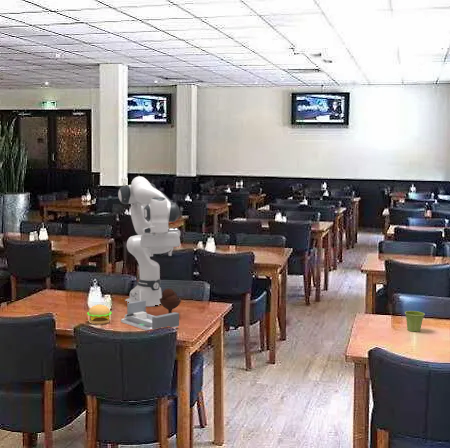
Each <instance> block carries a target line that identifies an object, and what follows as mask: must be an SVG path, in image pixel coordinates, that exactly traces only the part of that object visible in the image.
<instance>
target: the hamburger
mask: <svg viewBox="0 0 450 448" xmlns="http://www.w3.org/2000/svg"><path fill="white" fill-rule="evenodd" d="M86 315H88V316H89V319H88V322H89V323H90V324H92V325H105V324H108V323H109V322H110V319H111V318H110V316H111V315H112V311H111V309H110V308H109V307H108V306H107V305H105V304H96V305H93V306H92V307H90V308H89V310H88V311H87V313H86Z"/></svg>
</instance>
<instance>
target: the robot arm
mask: <svg viewBox="0 0 450 448" xmlns="http://www.w3.org/2000/svg"><path fill="white" fill-rule="evenodd" d="M117 195H118V199H119V201H120V203H121V204H122V205H130V204H132V205H131V207H130V218H131V222H132V225H133V228H134V231H135V234H136V235H132V236H130V237H128V239H127V241H126V249H127V252H128V253H130V254H131V255H132V256H133V257H134V258H135V259H136V260H137V264H138V269H139V278H138V279H136V281H137V284H136V286H134V287H133V288H132V289H131V290H130V292H129V297H128V298H126V299H124V302H126V301H127V302H126V303H128V302H129V303H130V302H136V301H141V300H145V301H146V307H156V306H155V305H158V306H160V305H159V304H161V303H160V298H162V296H163V295H162V293H163V292H162V287H160V286H161V282H162V281H161V278H160V276H161V273H160V272H161V271H160V270H161V269H160V268H161V267H160V264H159V262H157V261H156V260H154V259H151V257H154V255H155V254H156V255H158V254H159V255H160V254H161V255H162V254H165V253H168V257H172V256H173V255H172V254H173V251H174V248H177V247H178V248H179V247H180V246H181V239H180V238H181V230H180V229H179V228H169V223H175V222H176V221H177V220H178V219H179V218H180V208H179V206H178V205H177V204H176V203H175V202H173V201H172V200H171V199H170V198H169V197H168V196H167V195H166V194H165V193H164V192H162V191H160V190H158V189H157V188H156V185H155V184H154V183H152V182H151V183H150V181H149V180H148V179H147V178H145V177H144V176H140V175H139V176H136V177H134V178H133V179H132V181H131V184H129V185H123V186H121V187H119V189H118V193H117Z"/></svg>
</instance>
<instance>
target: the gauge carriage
mask: <svg viewBox="0 0 450 448" xmlns="http://www.w3.org/2000/svg"><path fill="white" fill-rule="evenodd" d="M126 303H127V304H126V305H127V308H126V310H127V313H126V314H127V316H134V317H138V318H141V319H145V318H147V314H148V312H147V306H146V301H145V300H141V301H136V302H130V303H128V302H126Z"/></svg>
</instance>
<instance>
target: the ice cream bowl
mask: <svg viewBox="0 0 450 448" xmlns="http://www.w3.org/2000/svg"><path fill="white" fill-rule="evenodd" d="M161 293H162V298H160V303H161V305H162V306H163V308H165V309H167V310H168V313H167V314H169V313H173V310H175V309H176V308H177V307H178V306H179V305H180V304H181V302H182V299H181V298H180V297H178V294H177V293H176V292H175V291H174V290H173V289H172V288H166V289H164V290H163V291H162V292H161ZM161 305H160V306H161Z"/></svg>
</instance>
